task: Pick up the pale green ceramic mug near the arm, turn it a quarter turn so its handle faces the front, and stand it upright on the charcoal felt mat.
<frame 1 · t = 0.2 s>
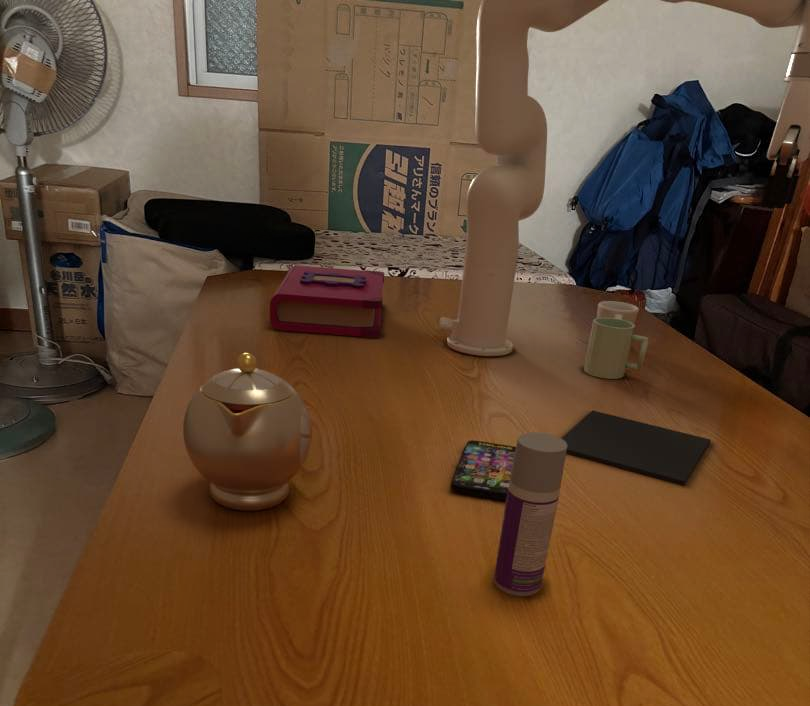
hand: (776, 205, 116), 31 cm above the table, tool pointing down, fingers open, 9 cm apart
teapot: (252, 491, 89), on the table
mug: (603, 372, 140), on the table
book: (330, 317, 160), on the table
cup: (610, 348, 156), on the table
mat: (633, 446, 110), on the table
container: (516, 584, 76), on the table
smartphone: (487, 473, 98), on the table
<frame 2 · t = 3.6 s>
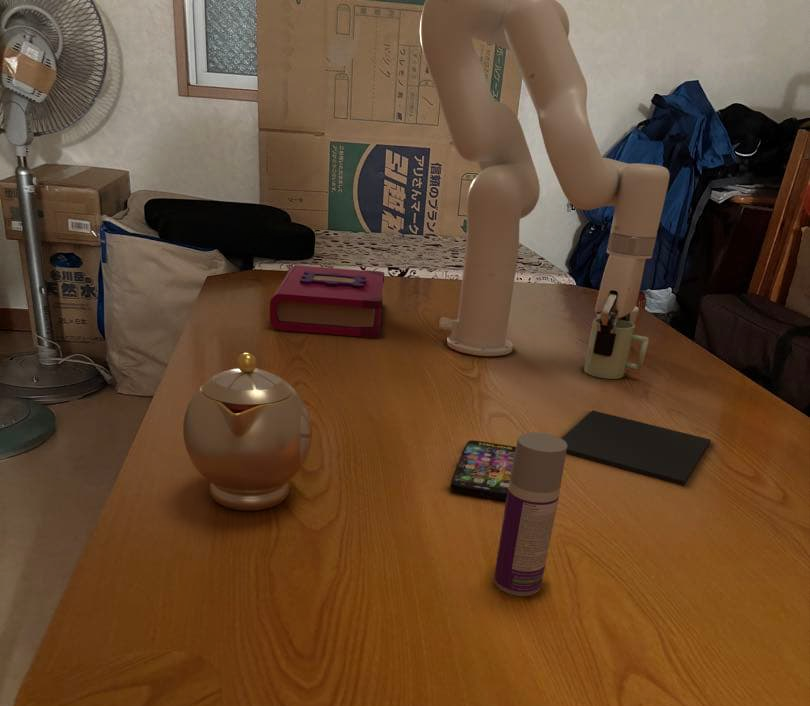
hand: (608, 349, 138), 4 cm above the table, tool pointing down, fingers closed on mug, 7 cm apart
mug: (603, 372, 140), on the table, touching gripper
everything else where it was.
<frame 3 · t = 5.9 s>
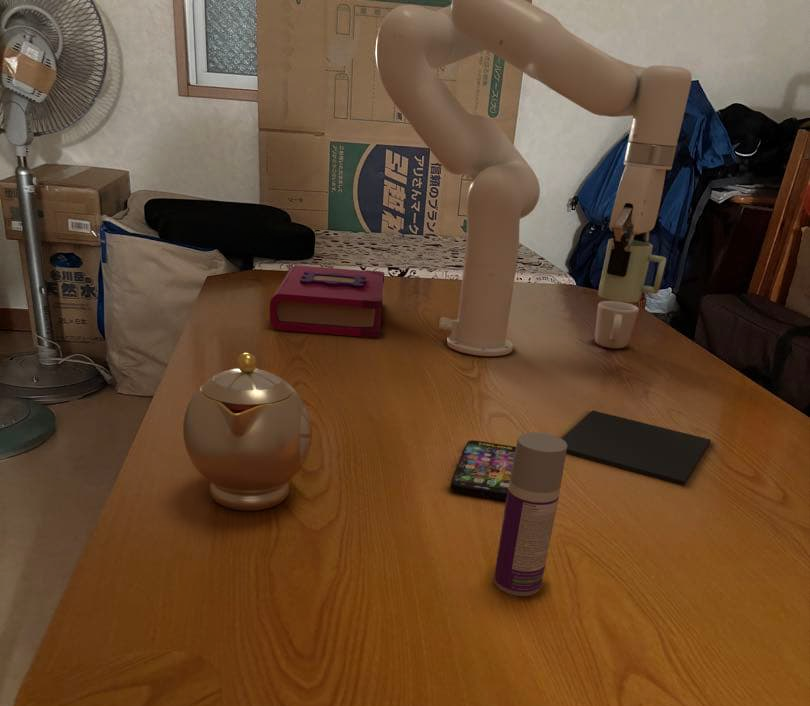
hand: (624, 271, 132), 18 cm above the table, tool pointing down, fingers closed on mug, 7 cm apart
mug: (618, 297, 134), point 13 cm above the table, touching gripper
everything else where it was.
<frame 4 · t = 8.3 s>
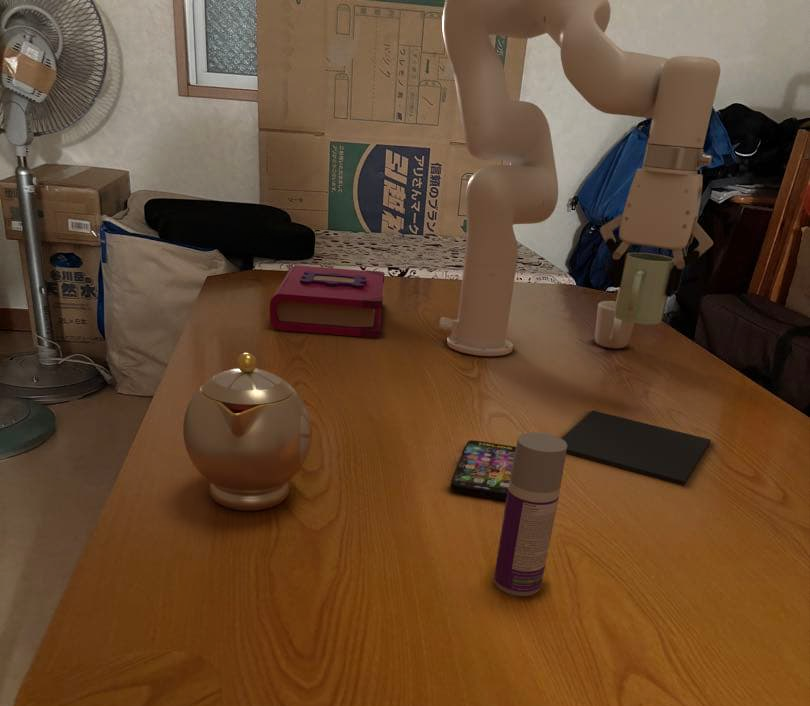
hand: (643, 290, 117), 18 cm above the table, tool pointing down, fingers closed on mug, 7 cm apart
mug: (637, 318, 119), point 14 cm above the table, touching gripper
everything else where it was.
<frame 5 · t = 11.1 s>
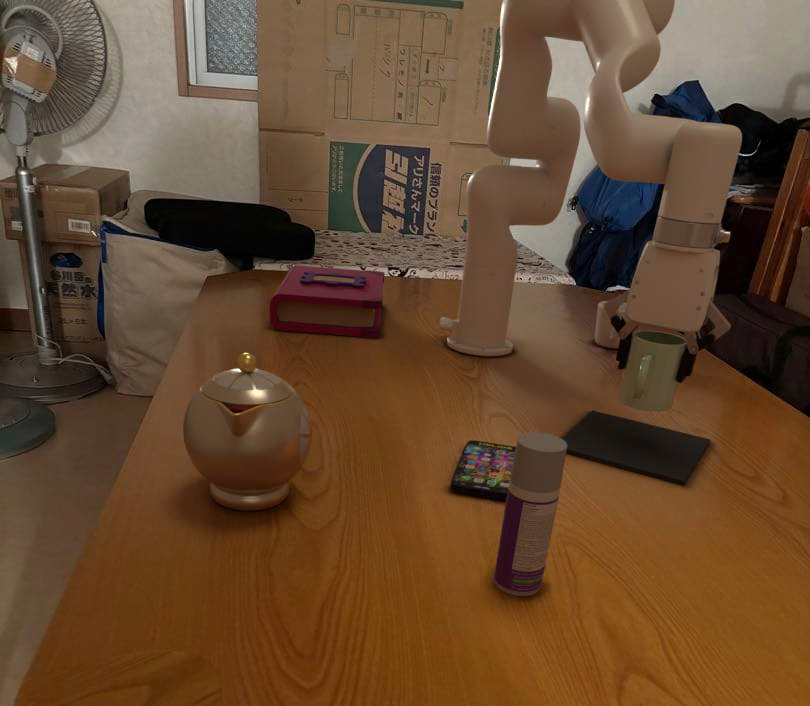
hand: (651, 372, 105), 11 cm above the table, tool pointing down, fingers closed on mug, 7 cm apart
mug: (644, 402, 107), point 7 cm above the table, touching gripper
everything else where it was.
when the fingers open (5 cm above the table, at t = 13.1 s): mug stays where it is, resting on mat.
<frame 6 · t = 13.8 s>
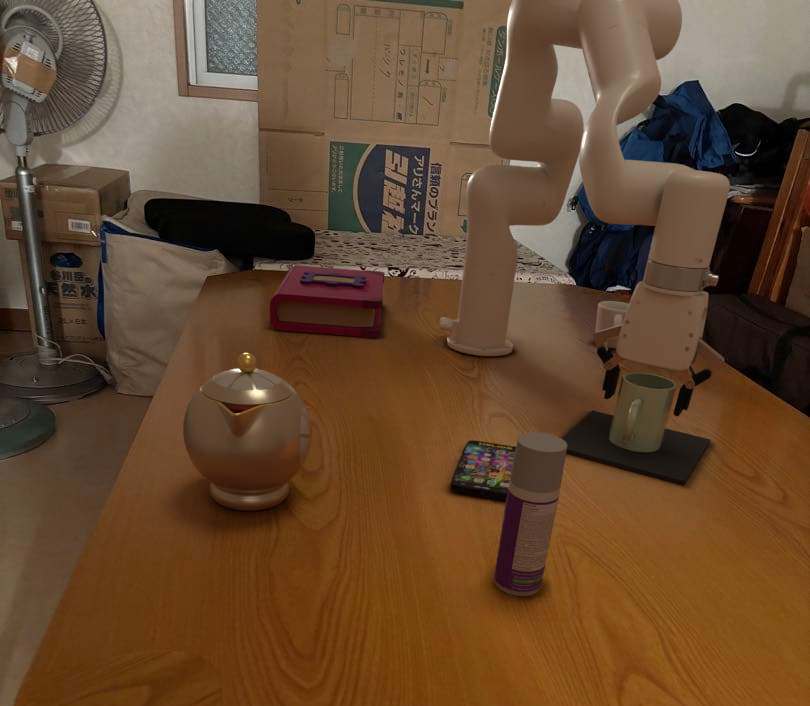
hand: (642, 404, 107), 6 cm above the table, tool pointing down, fingers open, 9 cm apart
mug: (634, 442, 110), point 1 cm above the table, touching mat
everything else where it was.
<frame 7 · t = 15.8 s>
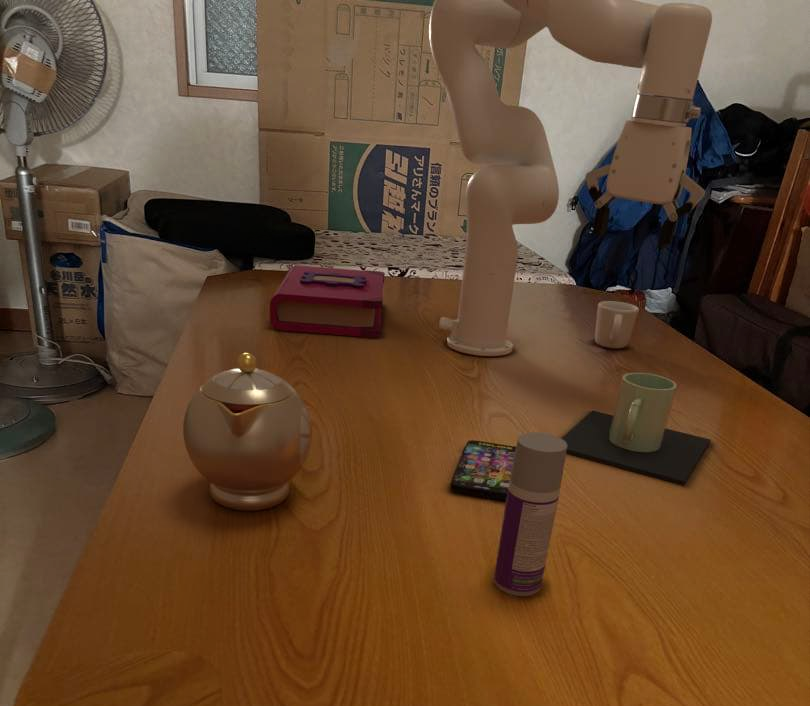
hand: (630, 242, 116), 24 cm above the table, tool pointing down, fingers open, 9 cm apart
nothing on the table moved.
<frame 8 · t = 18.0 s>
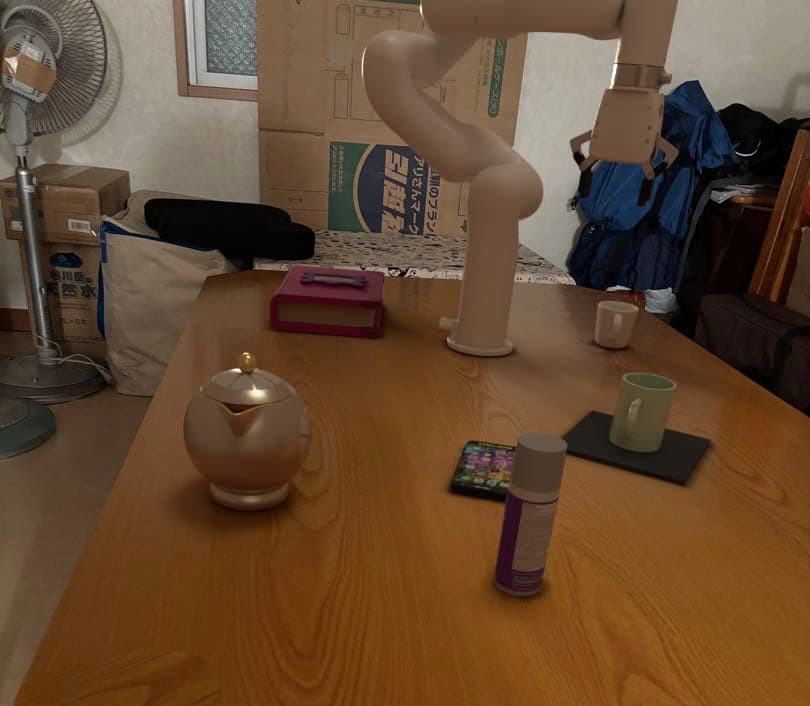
hand: (612, 201, 126), 28 cm above the table, tool pointing down, fingers open, 9 cm apart
nothing on the table moved.
at the end: mug inside the target area on the mat (0.1 cm from its centre), point 0.6 cm above the mat's base; mug tilted 0°; the gripper is holding nothing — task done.
